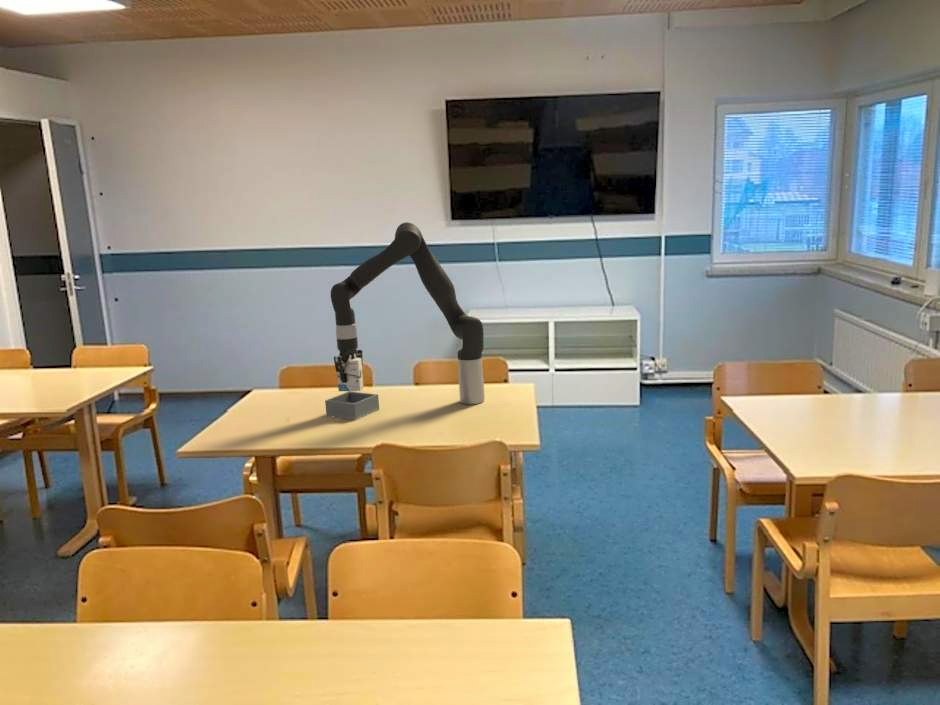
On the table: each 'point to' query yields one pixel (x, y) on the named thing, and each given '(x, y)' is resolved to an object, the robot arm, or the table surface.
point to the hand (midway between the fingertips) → (350, 380)
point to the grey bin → (352, 405)
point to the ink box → (352, 376)
